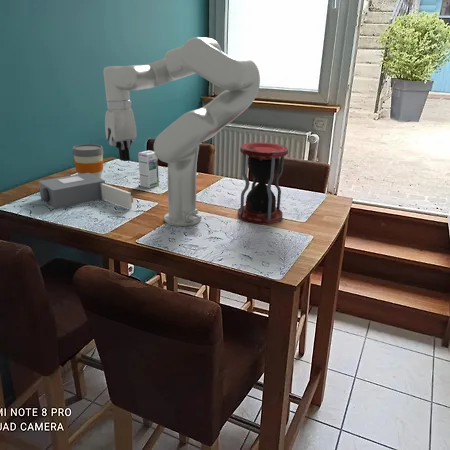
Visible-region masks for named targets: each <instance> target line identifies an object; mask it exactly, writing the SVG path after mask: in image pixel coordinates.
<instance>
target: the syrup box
mask: <svg viewBox="0 0 450 450" xmlns="http://www.w3.org/2000/svg"><path fill="white" fill-rule="evenodd" d="M137 154H138V169H139V170H138V171H139V185H140V186H141V187H142V188H143V187H144V188H147V189H151V188H154V187H157V186H159V185H160V182H159V179H160V178H159V161H158V160H159V159H158V158H157V157H156V155H155V153H154V150H149V149H148V150H144V151H141V152H138V153H137Z"/></svg>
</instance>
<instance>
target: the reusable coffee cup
mask: <svg viewBox="0 0 450 450" xmlns="http://www.w3.org/2000/svg"><path fill="white" fill-rule="evenodd" d="M103 155H104V147H103V146H102V145H101V144H96V143H83V144H77V145H74V146H72V156H73V158H74V160H73V163H74V167H75V172H77V174H83V173H91V174H93V175H95V176H97V177H99V178H101V179H103V177H102V176H103V175H102V174H103V171H104V158H103V157H104V156H103Z"/></svg>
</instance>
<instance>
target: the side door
mask: <svg viewBox="0 0 450 450" xmlns="http://www.w3.org/2000/svg"><path fill="white" fill-rule="evenodd" d="M100 190H101V199H100V200H104V201H106V202H109V203H111V204H115V205H118V206H120V207H123V208H125V209H129V210H131V209H133V207H132V204H133V203H134V198H133V197H134V196H133V195H132V193H131V191H127V190H124V189H121V188H118V187H115V186H112V185H109V184H106V183H105V184H103V183H100Z"/></svg>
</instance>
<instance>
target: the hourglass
mask: <svg viewBox="0 0 450 450" xmlns="http://www.w3.org/2000/svg"><path fill="white" fill-rule="evenodd" d="M239 151H240V153H242V162H241V163H242V166H241V175H242V178H243V179H244V181H245V185H244V188H243V189H242V191H241V193H240V207H238V209H237V217H238V218H239V219H240V220H242V221H243V222H246V223H250V224H255V225H270V224H271V225H272V224H276V223H278V222H281V220H282V219H283V215H284V214H283V211H282V210H281V208H280V207H281V198H282V197H281V196H282V189H281V187H280V186H279V179H280V177H281V176H282V174H283V172H284V161H285V160H284V159H285V156H287V155H288V153H289V148H288V146H285V145H284V144H279V143H272V142H257V141H254V142H247V143H243V144H241V145H240V150H239ZM247 156H248V157H247ZM246 163H247V164H246ZM246 166H247V168H248V170H249V173H251V175H252V176H253V179H252V181H253V182H252V183H251V190H249V187H250V179H249V177H247V175H246ZM278 170H279V171H278ZM277 171H278V173H277ZM275 174H276V175H275ZM274 176H275V177H274ZM267 181H268V182H267ZM257 182H258V183H257ZM266 182H267V183H266ZM273 182H274V187H276V190H277V197H276V196H275V193H274V192H273V190H272V184H273ZM248 190H249V191H248ZM247 191H248V193H247V194H246V192H247ZM245 194H246V198H245ZM276 198H277V199H276ZM244 201H245V202H244ZM244 204H245V205H244Z"/></svg>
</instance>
